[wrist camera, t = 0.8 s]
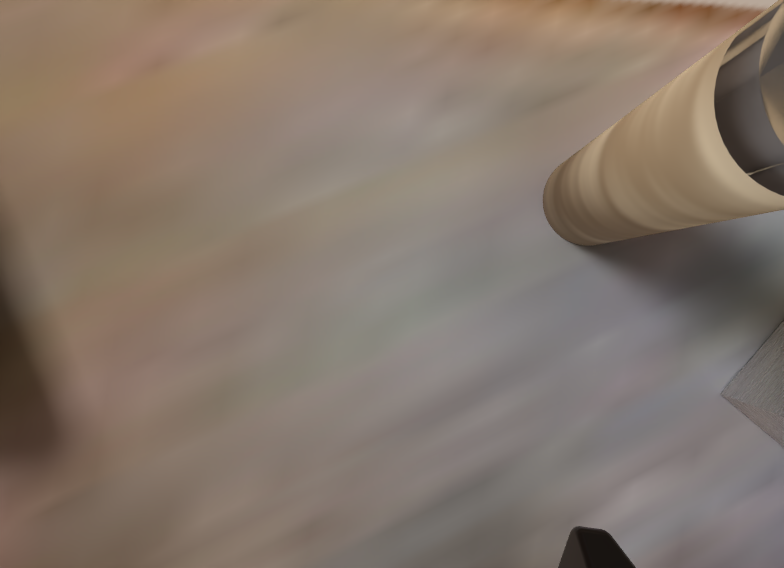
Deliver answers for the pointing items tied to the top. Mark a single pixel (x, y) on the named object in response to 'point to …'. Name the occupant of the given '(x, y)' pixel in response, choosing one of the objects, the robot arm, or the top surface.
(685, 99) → the slotted cylinder
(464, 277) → the top surface
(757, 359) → the socket block
